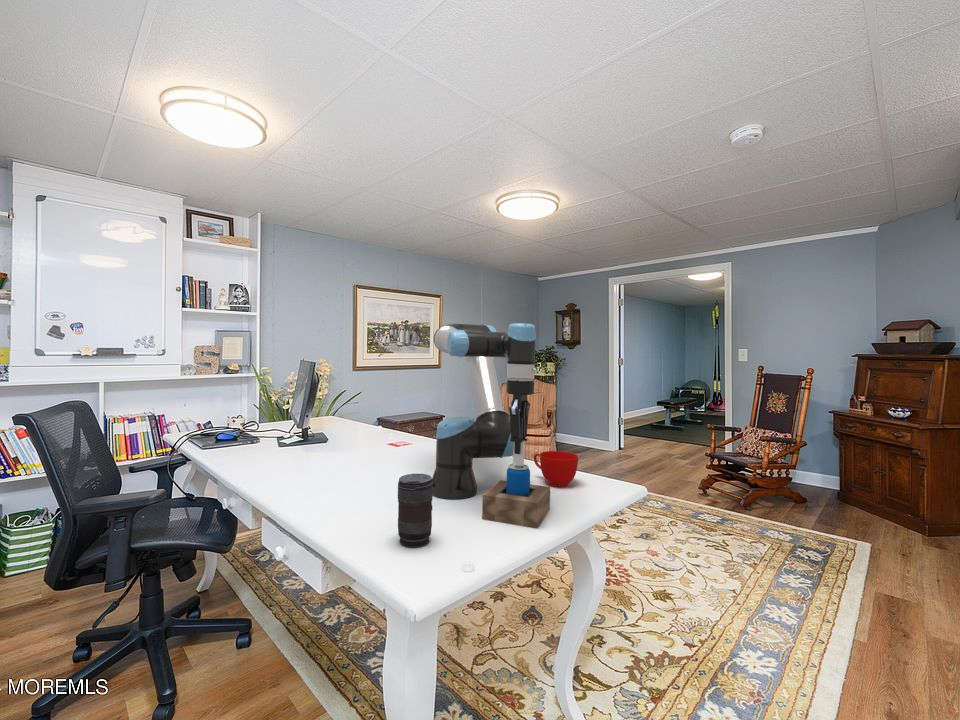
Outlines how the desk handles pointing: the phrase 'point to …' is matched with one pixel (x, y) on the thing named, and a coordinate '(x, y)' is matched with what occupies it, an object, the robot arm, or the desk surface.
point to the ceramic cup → (557, 467)
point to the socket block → (516, 505)
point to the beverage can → (518, 480)
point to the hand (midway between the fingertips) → (518, 464)
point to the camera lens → (415, 509)
